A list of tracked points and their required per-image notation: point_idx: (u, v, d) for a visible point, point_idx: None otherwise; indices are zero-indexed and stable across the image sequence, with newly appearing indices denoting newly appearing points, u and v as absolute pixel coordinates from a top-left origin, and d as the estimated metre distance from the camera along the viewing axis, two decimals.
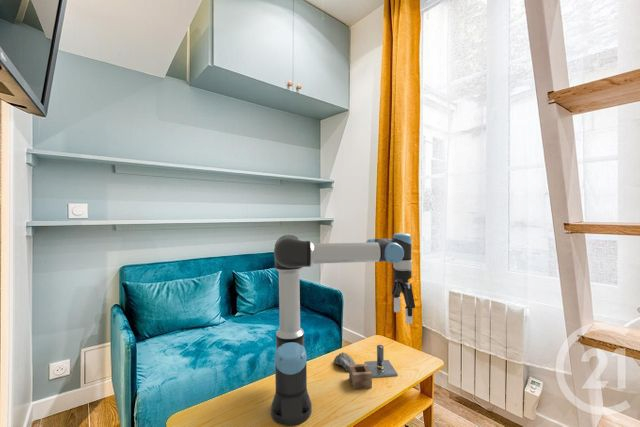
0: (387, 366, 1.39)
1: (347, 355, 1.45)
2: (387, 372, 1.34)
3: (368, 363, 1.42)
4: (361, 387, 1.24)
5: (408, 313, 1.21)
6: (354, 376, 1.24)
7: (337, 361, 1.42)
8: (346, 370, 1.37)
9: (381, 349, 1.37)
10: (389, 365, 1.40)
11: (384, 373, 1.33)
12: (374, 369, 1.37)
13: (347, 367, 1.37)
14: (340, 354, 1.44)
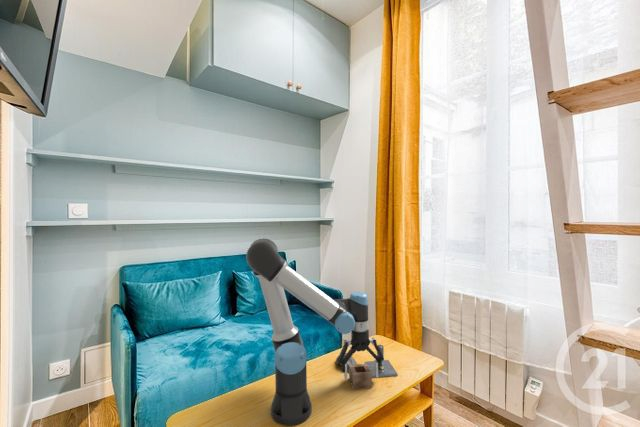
0: (387, 366, 1.39)
1: None
2: (387, 372, 1.34)
3: (368, 363, 1.42)
4: (361, 387, 1.24)
5: None
6: (354, 376, 1.24)
7: None
8: (348, 370, 1.37)
9: (381, 349, 1.37)
10: (389, 365, 1.40)
11: (384, 373, 1.33)
12: (374, 369, 1.37)
13: None
14: None
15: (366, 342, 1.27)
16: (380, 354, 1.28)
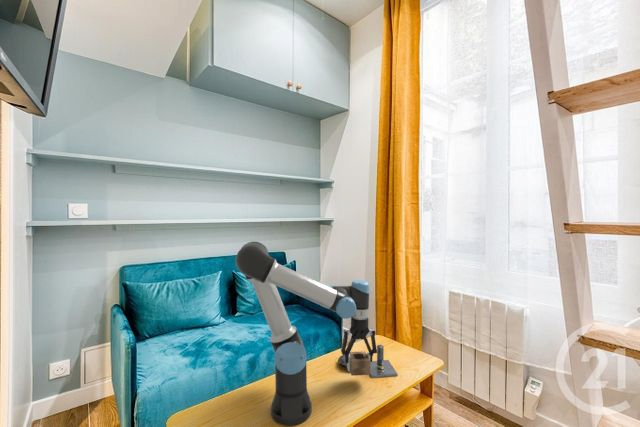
0: (387, 366, 1.39)
1: None
2: (387, 372, 1.34)
3: None
4: (359, 374, 1.24)
5: None
6: (353, 362, 1.24)
7: (341, 361, 1.42)
8: None
9: (381, 349, 1.37)
10: (389, 365, 1.40)
11: (384, 373, 1.33)
12: (374, 369, 1.37)
13: None
14: None
15: (365, 330, 1.27)
16: (374, 346, 1.27)
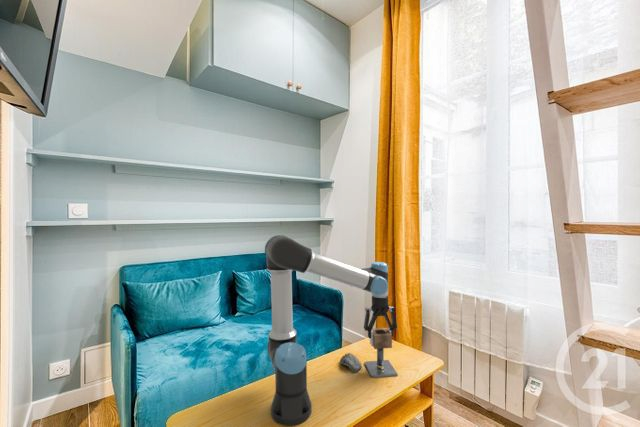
0: (387, 366, 1.39)
1: (353, 356, 1.44)
2: (387, 372, 1.34)
3: (368, 363, 1.42)
4: (382, 347, 1.34)
5: None
6: (375, 337, 1.34)
7: (343, 361, 1.41)
8: None
9: (381, 349, 1.37)
10: (389, 365, 1.40)
11: (384, 373, 1.33)
12: (374, 369, 1.37)
13: (352, 368, 1.37)
14: (346, 354, 1.43)
15: (386, 307, 1.37)
16: (395, 322, 1.38)
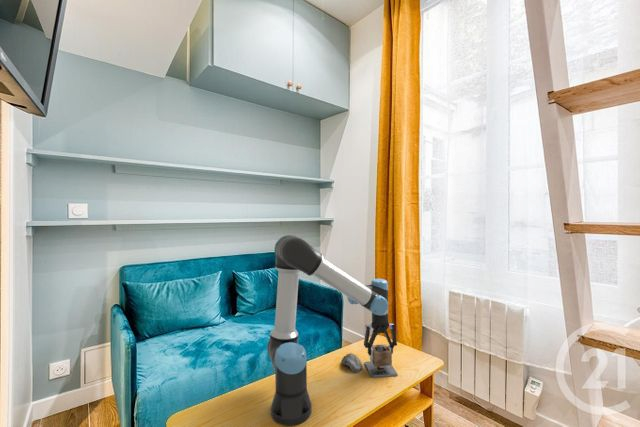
0: (387, 366, 1.39)
1: (355, 356, 1.44)
2: (387, 372, 1.34)
3: (368, 363, 1.42)
4: (382, 365, 1.34)
5: None
6: (375, 354, 1.34)
7: (344, 361, 1.41)
8: None
9: (381, 349, 1.37)
10: (389, 365, 1.40)
11: (384, 373, 1.33)
12: (374, 369, 1.37)
13: (353, 368, 1.37)
14: (347, 355, 1.43)
15: (386, 324, 1.37)
16: (394, 339, 1.38)
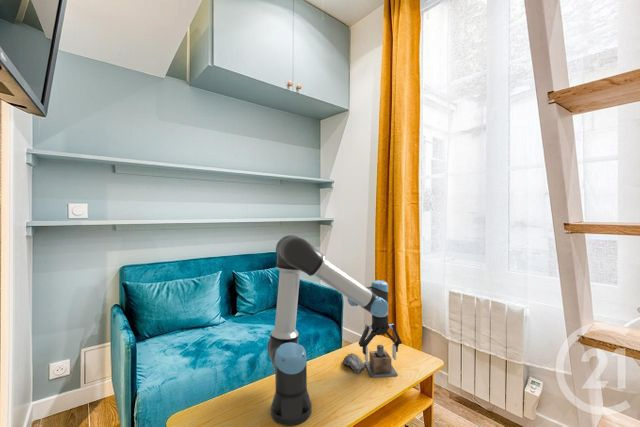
0: None
1: (356, 356, 1.44)
2: (387, 372, 1.34)
3: (368, 363, 1.42)
4: (381, 371, 1.34)
5: None
6: (375, 361, 1.34)
7: (345, 361, 1.41)
8: (354, 371, 1.36)
9: (381, 349, 1.37)
10: None
11: (384, 373, 1.33)
12: None
13: (355, 368, 1.36)
14: (349, 355, 1.43)
15: (386, 327, 1.37)
16: (398, 338, 1.38)
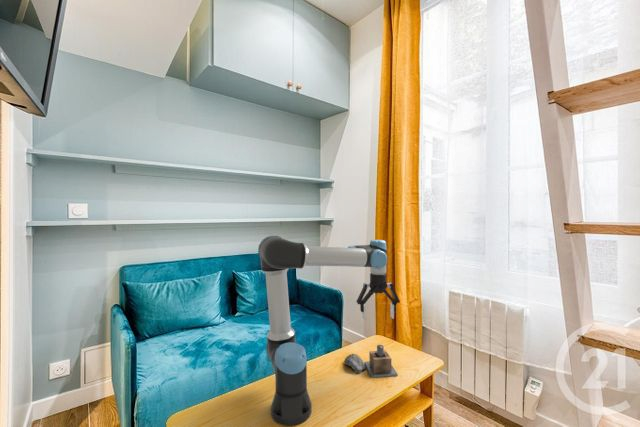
0: None
1: (357, 356, 1.44)
2: (387, 372, 1.34)
3: (368, 363, 1.42)
4: (381, 371, 1.34)
5: None
6: (375, 361, 1.34)
7: (346, 362, 1.41)
8: (355, 371, 1.36)
9: (381, 349, 1.37)
10: None
11: (384, 373, 1.33)
12: None
13: (356, 368, 1.36)
14: (350, 355, 1.43)
15: (384, 285, 1.38)
16: (396, 297, 1.38)
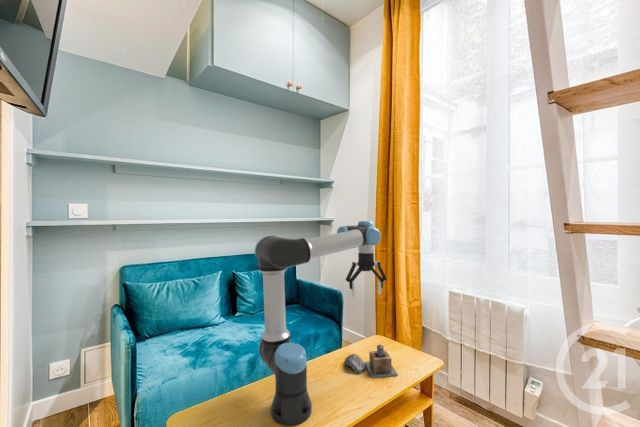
0: None
1: (358, 357, 1.43)
2: (387, 372, 1.34)
3: (368, 363, 1.42)
4: (381, 371, 1.34)
5: None
6: (375, 361, 1.34)
7: (347, 362, 1.41)
8: (355, 372, 1.36)
9: (381, 349, 1.37)
10: None
11: (384, 373, 1.33)
12: None
13: (356, 369, 1.36)
14: (350, 355, 1.42)
15: (371, 263, 1.45)
16: (383, 274, 1.46)
